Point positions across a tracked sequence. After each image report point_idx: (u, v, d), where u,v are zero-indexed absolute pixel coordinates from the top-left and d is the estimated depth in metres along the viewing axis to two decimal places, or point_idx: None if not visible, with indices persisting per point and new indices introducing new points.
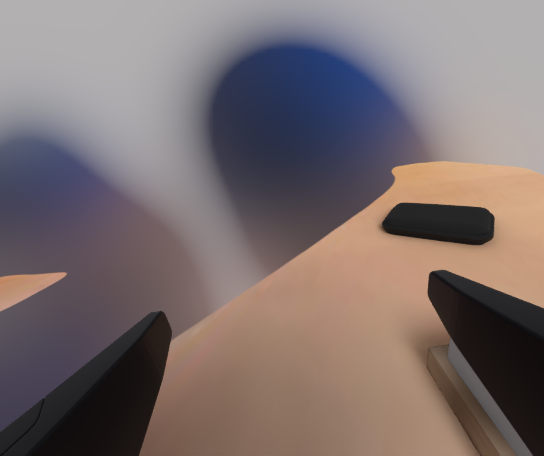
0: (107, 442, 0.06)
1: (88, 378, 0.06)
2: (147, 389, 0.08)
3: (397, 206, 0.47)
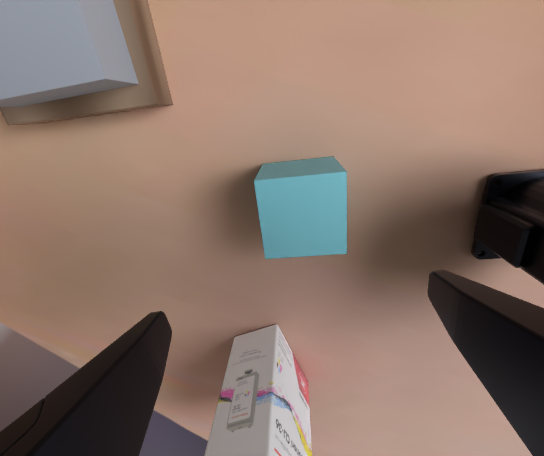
0: (107, 442, 0.06)
1: (88, 378, 0.06)
2: (147, 389, 0.08)
3: None
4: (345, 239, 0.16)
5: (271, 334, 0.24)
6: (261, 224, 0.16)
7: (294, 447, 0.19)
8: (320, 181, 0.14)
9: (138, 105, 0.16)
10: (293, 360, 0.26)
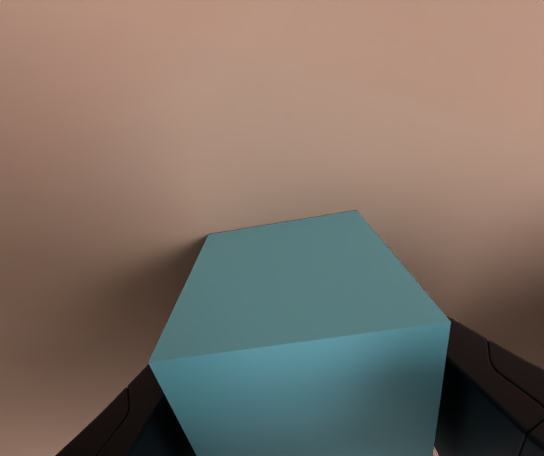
0: None
1: None
2: None
3: None
4: None
5: None
6: (196, 449, 0.06)
7: None
8: (363, 351, 0.04)
9: None
10: None
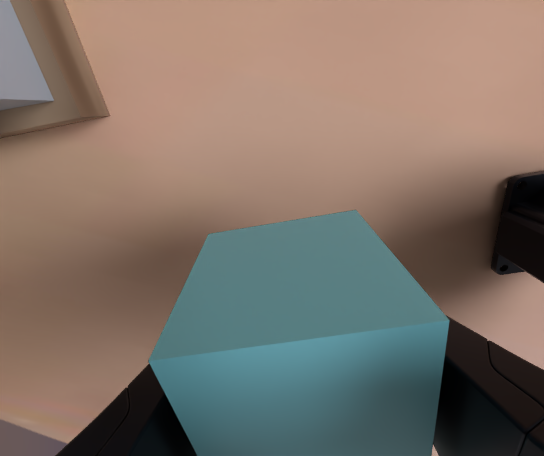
0: None
1: None
2: None
3: None
4: None
5: None
6: (196, 447, 0.06)
7: None
8: (362, 349, 0.04)
9: (57, 120, 0.12)
10: None
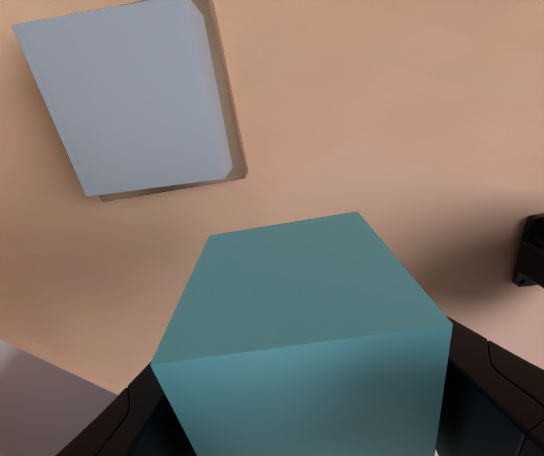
0: None
1: None
2: None
3: None
4: None
5: None
6: (198, 451, 0.06)
7: None
8: (365, 353, 0.04)
9: (228, 180, 0.18)
10: None
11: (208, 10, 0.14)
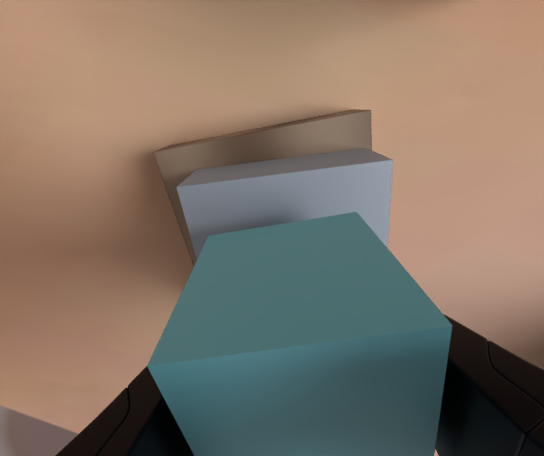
0: None
1: None
2: None
3: None
4: None
5: None
6: (196, 453, 0.06)
7: None
8: (364, 355, 0.04)
9: None
10: None
11: (370, 132, 0.12)
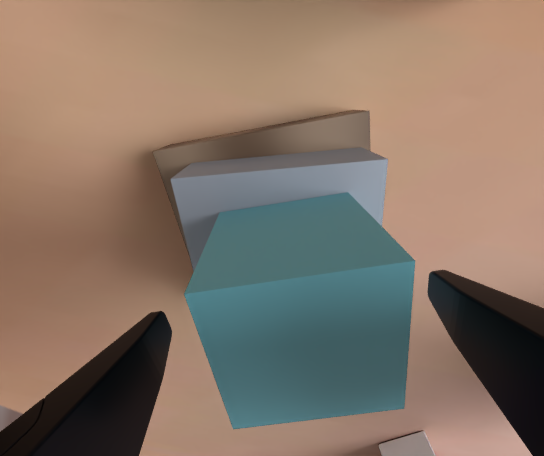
0: (107, 442, 0.06)
1: (88, 378, 0.06)
2: (147, 389, 0.08)
3: None
4: (403, 386, 0.07)
5: (425, 445, 0.25)
6: (216, 375, 0.07)
7: None
8: (350, 285, 0.06)
9: None
10: None
11: (368, 133, 0.12)
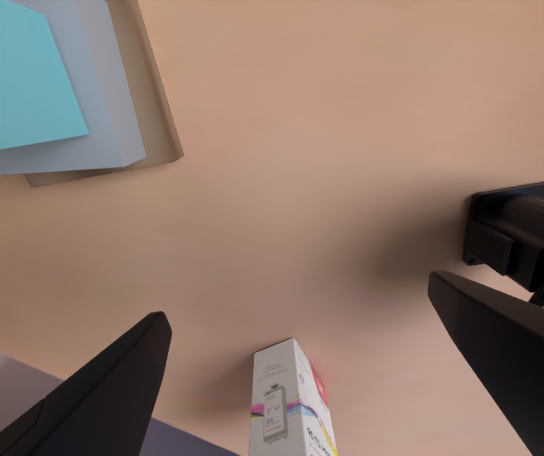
0: (107, 442, 0.06)
1: (88, 378, 0.06)
2: (147, 389, 0.08)
3: None
4: None
5: (289, 348, 0.26)
6: None
7: (324, 451, 0.21)
8: None
9: (156, 163, 0.18)
10: (310, 369, 0.28)
11: None
